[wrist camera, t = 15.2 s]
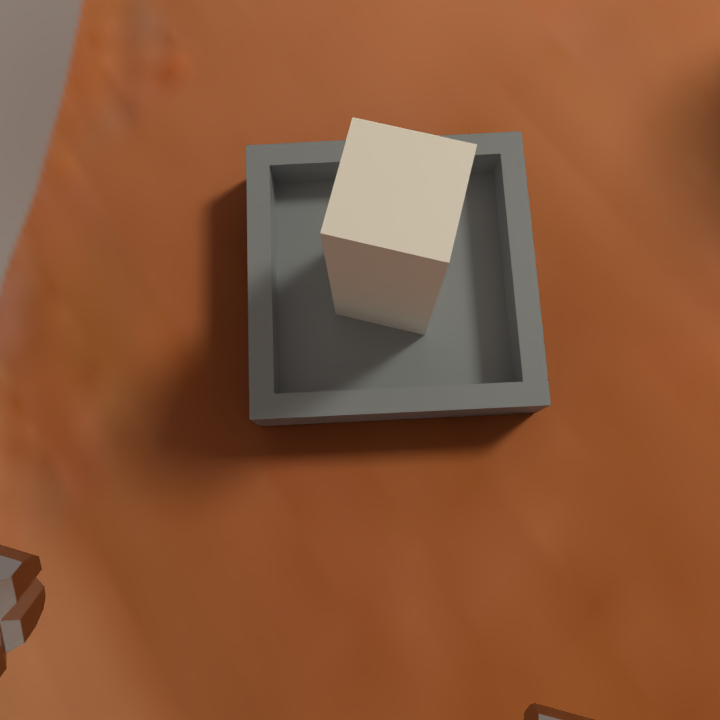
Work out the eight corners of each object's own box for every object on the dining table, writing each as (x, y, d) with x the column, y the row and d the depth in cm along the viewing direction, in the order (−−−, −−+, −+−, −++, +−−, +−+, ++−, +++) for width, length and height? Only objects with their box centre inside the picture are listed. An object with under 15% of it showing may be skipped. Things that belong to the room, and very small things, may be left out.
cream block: (424, 335, 28) (449, 262, 20) (335, 313, 29) (320, 233, 20) (444, 250, 29) (477, 144, 20) (357, 230, 29) (352, 117, 21)
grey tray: (535, 412, 28) (550, 405, 26) (259, 426, 28) (249, 419, 26) (509, 160, 31) (521, 131, 28) (255, 172, 31) (246, 145, 28)
